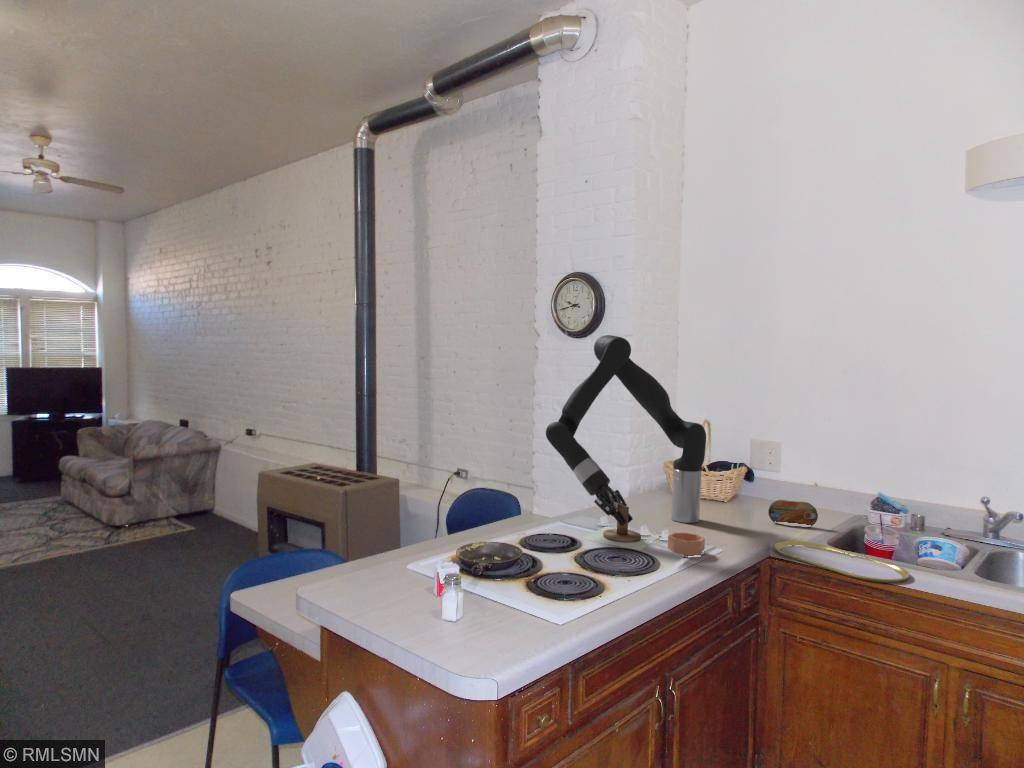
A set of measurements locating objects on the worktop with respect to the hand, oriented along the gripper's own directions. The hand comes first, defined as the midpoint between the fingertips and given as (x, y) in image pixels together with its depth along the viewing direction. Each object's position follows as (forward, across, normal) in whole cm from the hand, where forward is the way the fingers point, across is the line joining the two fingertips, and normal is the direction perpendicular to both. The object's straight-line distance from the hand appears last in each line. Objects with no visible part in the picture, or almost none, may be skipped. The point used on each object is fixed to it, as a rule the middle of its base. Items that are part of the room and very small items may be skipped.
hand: (627, 522), depth 186 cm
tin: (+30, +55, -22) cm, 66 cm away
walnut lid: (+2, 0, +4) cm, 5 cm away
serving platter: (+42, +18, -33) cm, 57 cm away
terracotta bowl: (+16, 0, -8) cm, 18 cm away
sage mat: (+3, 0, +5) cm, 6 cm away
